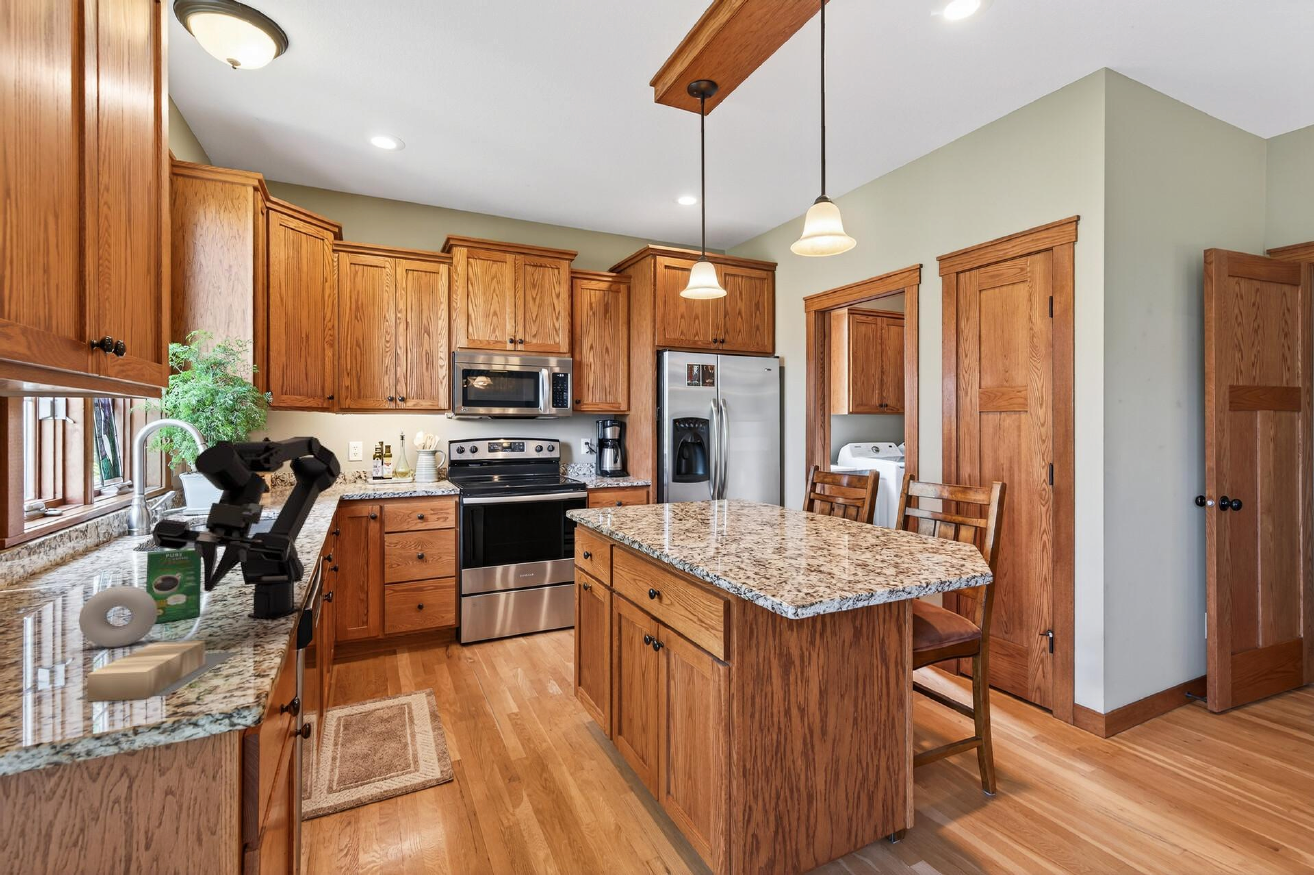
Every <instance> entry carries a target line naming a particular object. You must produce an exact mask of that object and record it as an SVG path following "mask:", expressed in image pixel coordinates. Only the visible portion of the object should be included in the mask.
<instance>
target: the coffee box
mask: <svg viewBox="0 0 1314 875" xmlns="http://www.w3.org/2000/svg"><path fill="white" fill-rule="evenodd" d="M146 554H147V555H146V556H147V557H146V585H145V586H146V588H145V591H146V592H147V593H149V594H150V595H151V596H152V598H153V599H154V601H155V602H156V605H157V610H158V614H157V619H156V622H155V624H162V623H166V622H172V621H179V620H187V619H193V618H198V617H200V616H201V586H202V585H201V584H202V583H201V582H202V581H201V580H202V557H198V556H196V554H195V548H194V547H192V548H182V549H180V550H176V549H168V550H161V551H159V550H158V551H148V552H147V553H146Z"/></svg>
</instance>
